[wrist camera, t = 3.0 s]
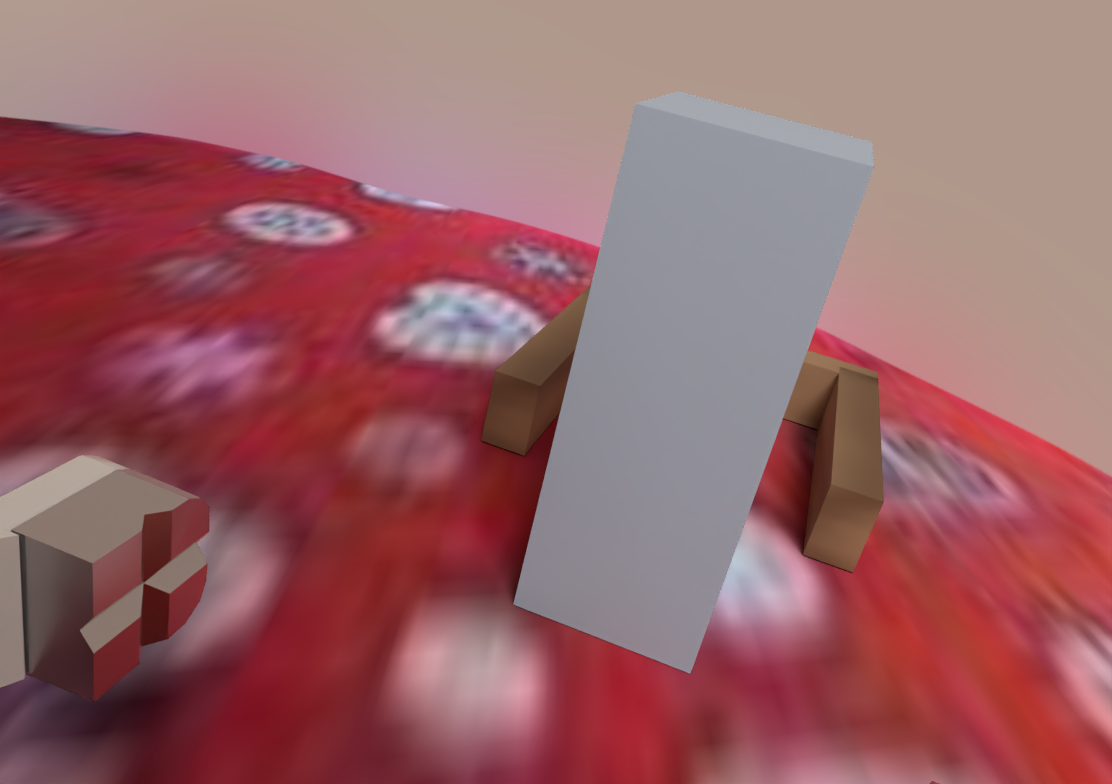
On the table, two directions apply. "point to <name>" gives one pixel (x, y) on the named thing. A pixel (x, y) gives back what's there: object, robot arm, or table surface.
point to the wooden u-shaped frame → (817, 401)
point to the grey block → (685, 365)
